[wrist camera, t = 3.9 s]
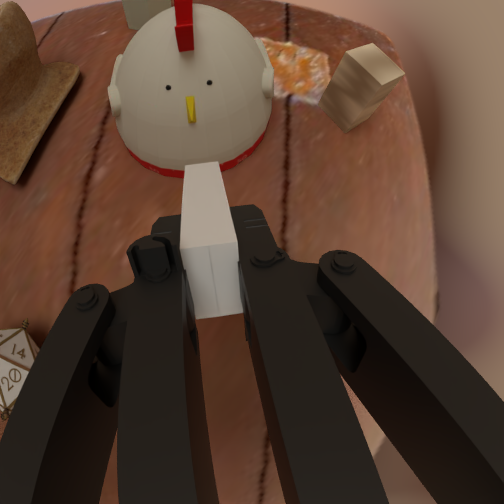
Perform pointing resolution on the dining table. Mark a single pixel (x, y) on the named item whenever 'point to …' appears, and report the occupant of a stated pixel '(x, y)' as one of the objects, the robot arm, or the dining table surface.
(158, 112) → the kitchen timer
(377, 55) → the birch block
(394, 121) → the dining table surface
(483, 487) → the robot arm
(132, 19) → the sage block
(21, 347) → the game die
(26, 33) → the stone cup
